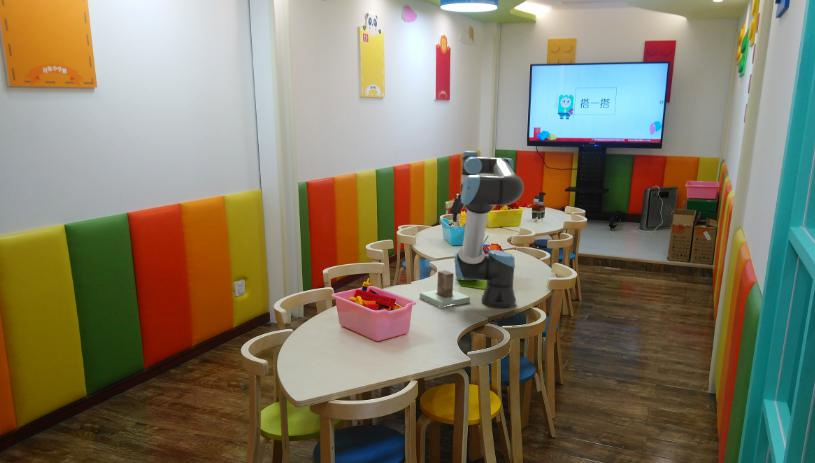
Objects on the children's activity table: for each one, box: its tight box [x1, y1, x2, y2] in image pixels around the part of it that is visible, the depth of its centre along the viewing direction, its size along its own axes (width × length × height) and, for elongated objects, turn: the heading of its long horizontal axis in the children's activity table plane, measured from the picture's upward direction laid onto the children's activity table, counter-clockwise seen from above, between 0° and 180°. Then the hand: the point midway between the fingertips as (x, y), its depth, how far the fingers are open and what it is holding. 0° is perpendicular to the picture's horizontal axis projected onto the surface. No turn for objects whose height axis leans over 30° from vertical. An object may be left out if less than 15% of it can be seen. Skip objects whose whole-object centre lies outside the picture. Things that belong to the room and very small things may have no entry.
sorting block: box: [419, 289, 471, 308], centre depth 259 cm, size 16×16×2 cm
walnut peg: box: [436, 270, 455, 298], centre depth 258 cm, size 6×4×13 cm, turn 35°
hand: (466, 227), depth 279 cm, fingers open, 13 cm apart
